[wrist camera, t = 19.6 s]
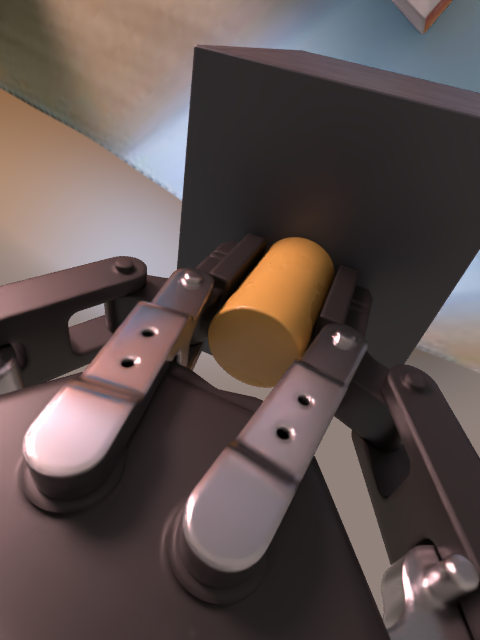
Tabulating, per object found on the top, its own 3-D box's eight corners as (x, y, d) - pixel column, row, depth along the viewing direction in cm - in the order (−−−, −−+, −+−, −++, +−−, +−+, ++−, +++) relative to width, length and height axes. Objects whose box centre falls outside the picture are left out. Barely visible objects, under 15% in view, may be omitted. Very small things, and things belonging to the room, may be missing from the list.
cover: (257, 241, 29) (107, 409, 15) (301, 50, 21) (76, 37, 7) (387, 287, 27) (350, 527, 13) (486, 94, 19) (649, 189, 5)
